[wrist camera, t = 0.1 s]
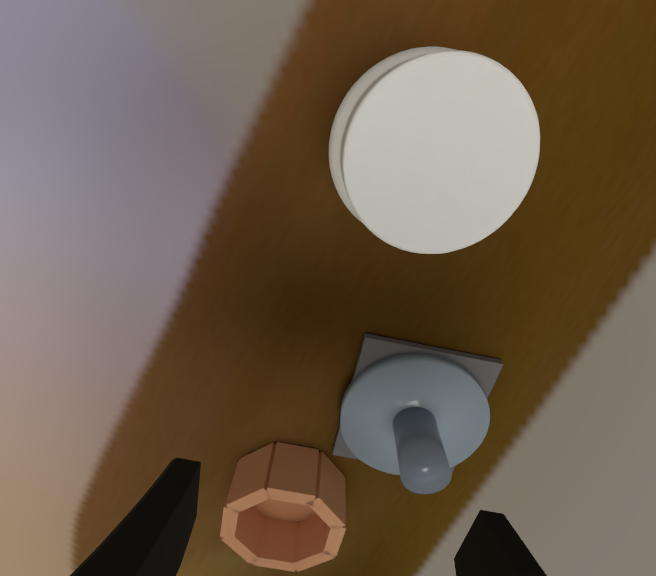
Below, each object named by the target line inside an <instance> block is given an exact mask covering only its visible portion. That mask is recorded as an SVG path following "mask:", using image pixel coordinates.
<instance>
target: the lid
mask: <svg viewBox="0 0 656 576" xmlns="http://www.w3.org/2000/svg"><path fill="white" fill-rule="evenodd" d="M489 423H490V409H489V405H488V401H487V399H486V397H485V395H484V393H483V391H482V389H481V387H480V385H479V383H478V381H477V380H476V379H475V377H474V376H473V375H472V374H471V373H470V372H469V371H468V370H467V369H466V368H464V367H463V366H461V365H460V364H458V363H456V362H455V361H453V360H450V359H448V358H445V357H442V356H438V355H434V354H427V353H406V354H399V355H394V356H391V357H388V358H384V359H382V360H380V361H378V362H375V363H374V364H372V365H370V366H368V367H367V368H365V369H364V370H363V371H362V372H360V373H359V374H358V375H357V376H356V377H355V378H354V379H353V380H352V381H351V383H350V384H349V385H348V387H347V389H346V391H345V393H344V395H343V398H342V402H341V413H340V426H341V432H342V435H343V439H344V441H345V443H346V444H347V446H348V448H349V449H350V450H351V452H352V453H353V454H354V455H355V456H356V457H357V458H359V459H360V460H361V461H362V462H364V463H365V464H367V465H369V466H370V467H373V468H375V469H377V470H380V471H383V472H386V473H390V474H394V475H400V477H401V482H402V484H403V485H404V486H405V488H407V489H408V490H410V491H412V492H414V493H418V494H432V493H435V492H438V491H440V490H442V489H444V488H445V487H446V486H447V485H448V484H449V482H450V480H451V470H450V468H451V467H453V466H455V465H457V464H459V463H460V462H462V461H464V460H465V459H466V458H467V457H469V456H470V455H471V454H472V453H473V452H474V451H475V450H476V449H477V448H478V447H479V445H480V444H481V443H482V441H483V439H484V438H485V436H486V433H487V431H488V427H489Z"/></svg>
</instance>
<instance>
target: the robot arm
mask: <svg viewBox="0 0 656 576" xmlns="http://www.w3.org/2000/svg"><path fill="white" fill-rule="evenodd" d="M200 466H201V462H198V461H192V460H186V459H180V458H175V459H173V460H172V461H171V462H170V463H169V465H168V466H167V467H166V469H165V470H164V471H163V473H162V474H161V475H160V476H159V478H158V479H157V480H156V481H155V483H154V484H153V485H152V486H151V488H150V489H149V490H148V491H147V492H146V494H145V495H144V496H143V497H142V498H141V500H140V501H139V502H138V503H137V504H136V505H135V507H134V508H133V509H132V510H131V511H130V512H129V513H128V515H127V516H126V517H125V518H124V519H123V520H122V521H121V522H120V523H119V524H118V526H117V527H116V528H115V529H114V530H113V531H112V532H111V533H110V534H109V536H108V537H107V538H106V539H105V540H104V541H103V542H102V543H101V544H100V545H99V546H98V547H97V548H96V550H95V551H94V552H93V553H92V554H91V555H90V556H89V557H88V558H87V559H86V560H85V561H84V562H83V563H82V564H81V565H80V566H79V567H78V568H77V569H76V570H75V571H74V572H73V573H72V574H71V575H70V576H176V574H177V572H178V569H179V567H180V565H181V562H182V559H183V556H184V553H185V550H186V547H187V544H188V541H189V538H190V535H191V531H192V528H193V525H194V522H195V519H196V515H197V502H198V490H199V478H200ZM454 562H455V569H456V576H546V574H545V573H544V571H543V570H542V568H541V567H540V566H539V564H538V563H537V561H536V560H535V558H534V557H533V556H532V554H531V553H530V551H529V550H528V548H527V547H526V546H525V544H524V543H523V541H522V540H521V539H520V537H519V536H518V534H517V533H516V531H515V530H514V528H513V527H512V526H511V524H510V523H509V521H508V520H507V519H506V517H505V516H504V514H501V513H495V512H489V511H483V510H480V511H479V513H478V515H477V517H476V519H475V521H474V523H473V525H472V526H471V528H470V530H469V532H468V534H467V536H466V537H465V539H464V541H463V543H462V545H461V547H460V549H459V551H458V552H457V554H456V556H455V558H454Z"/></svg>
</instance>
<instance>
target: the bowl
mask: <svg viewBox="0 0 656 576" xmlns="http://www.w3.org/2000/svg"><path fill="white" fill-rule="evenodd" d="M345 530H346V480H345V476H344V475H343V474H342V473H341V472H340V471H339V469H338V468H337V467H336V466H335V465H334V464H333V463H332V462H331V460H330V459H329V458H328V457H327V456H326V455H325V454H324V453H323V451H321V452H319V449H314V448H308V447H302V446H297V445H291V444H286V443H280V442H277V443H276V445H275V444H274V443H271V444H269V445H267V446H265V447H263V448H260V449H258V450H256V451H254V452H252V453H250V454H248V455H246V456H244V457H242V458H240V460H239V461H238V463H237V466H236V469H235V472H234V476H233V479H232V482H231V486H230V489H229V492H228V495H227V499H226V502H225V505H224V510H223V517H222V525H221V533H220V537H222V538H221V540H222V541H224V542H225V543H226V544H227V545H228V546H229V547H230V548H232V549H233V550H234V551H235V552H236V553H237V554H239V555H240V556H241V557H242V558H243V559H244V560H245V561H247V562H248V563H252V562H253V564H252V565H256V566H262V567H268V568H274V569H280V570H286V571H292V572H295V569H296V570H297V571H298V572H299V571H301V570H304V569H307V568H310V567H312V566H315V565H318V564H320V563H323V562H326V561H328V560H331V559H334V556H337V554H338V551H339V548H340V545H341V542H342V539H343V536H344V533H345Z"/></svg>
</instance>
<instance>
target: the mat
mask: <svg viewBox="0 0 656 576" xmlns="http://www.w3.org/2000/svg"><path fill="white" fill-rule="evenodd" d="M406 353H427V354H434V355H438V356H442V357H445V358H448V359H450V360H453V361H455V362H456V363H458V364H460V365H461V366H463V367H464V368H466V369H467V370H468V371H469V372H470V373H471V374H472V375H473V376H474V377H475V379H476V380H477V381H478V383H479V385H480V387H481V389H482V391H483V393H484V395H485V397H486V399H487V398H488V396H489V394H490V392H491V390H492V388H493V386H494V383H495V381H496V379H497V377H498V375H499V373H500V371H501V369H502V367H503V365H504V364H503V363H502V361H501V360H500V359H495V358H489V357H484V356H479V355H474V354H469V353H464V352H459V351H454V350H448V349H443V348H438V347H433V346H428V345H423V344H418V343H412V342H407V341H402V340H397V339H392V338H387V337H382V336H377V335H371V334H366V333H365V335H364V339H363V342H362V346H361V350H360V353H359V357H358V360H357V364H356V367H355V371H354V374H353V378H352V380H353V379H354V378H355V377H356V376H357V375H358V374H359V373H360V372H362V371H363V370H364V369H365V368H367V367H368V366H370V365H372V364H374V363H375V362H378V361H380V360H382V359H384V358H388V357H391V356H394V355H399V354H406ZM332 455H336V456H342V457H347V458H353V459H358V460H360V459H359V458H357V457H356V456H355V455H354V454H353V453H352V452H351V450H350V449H349V448H348V446H347V444H346V443H345V441H344V439H343V435H342V432H341V426H340V424H339V428H338V431H337V435H336V439H335V442H334V446H333V449H332ZM455 466H456V465H455ZM455 466H453V467H451V468H450V470H451V474H452V472H453V470H454V468H455Z"/></svg>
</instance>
